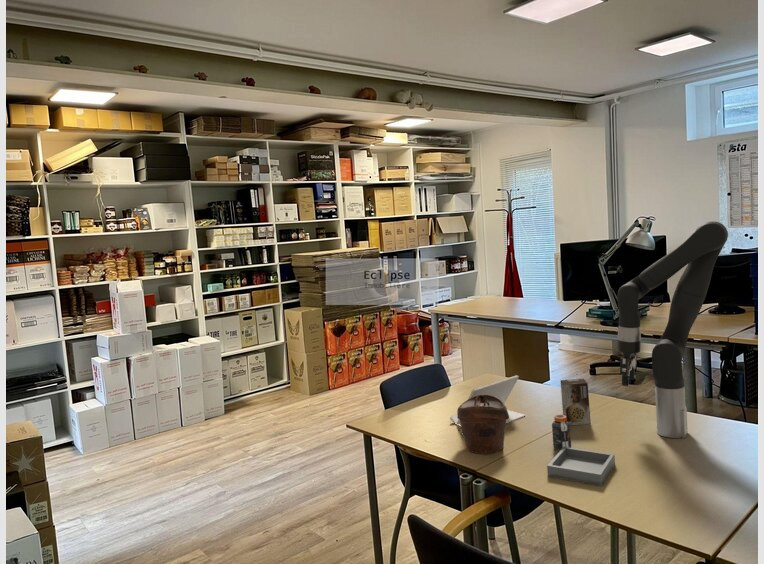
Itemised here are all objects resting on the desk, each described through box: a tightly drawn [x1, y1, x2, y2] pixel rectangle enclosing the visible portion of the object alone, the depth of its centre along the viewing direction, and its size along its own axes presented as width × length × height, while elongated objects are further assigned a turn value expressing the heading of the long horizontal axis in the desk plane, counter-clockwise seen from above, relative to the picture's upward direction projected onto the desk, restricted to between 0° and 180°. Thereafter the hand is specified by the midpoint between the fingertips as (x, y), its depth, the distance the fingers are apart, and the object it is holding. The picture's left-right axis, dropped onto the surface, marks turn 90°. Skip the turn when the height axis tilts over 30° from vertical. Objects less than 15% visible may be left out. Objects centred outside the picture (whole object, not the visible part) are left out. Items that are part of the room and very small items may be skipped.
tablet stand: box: [449, 374, 526, 425], centre depth 232 cm, size 18×25×17 cm
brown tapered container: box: [456, 395, 509, 455], centre depth 205 cm, size 18×20×18 cm
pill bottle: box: [551, 414, 572, 452], centre depth 198 cm, size 6×6×11 cm
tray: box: [546, 447, 616, 487], centre depth 179 cm, size 16×16×4 cm
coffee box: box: [560, 378, 592, 426], centre depth 220 cm, size 9×6×16 cm
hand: (628, 382), depth 207 cm, fingers open, 8 cm apart
